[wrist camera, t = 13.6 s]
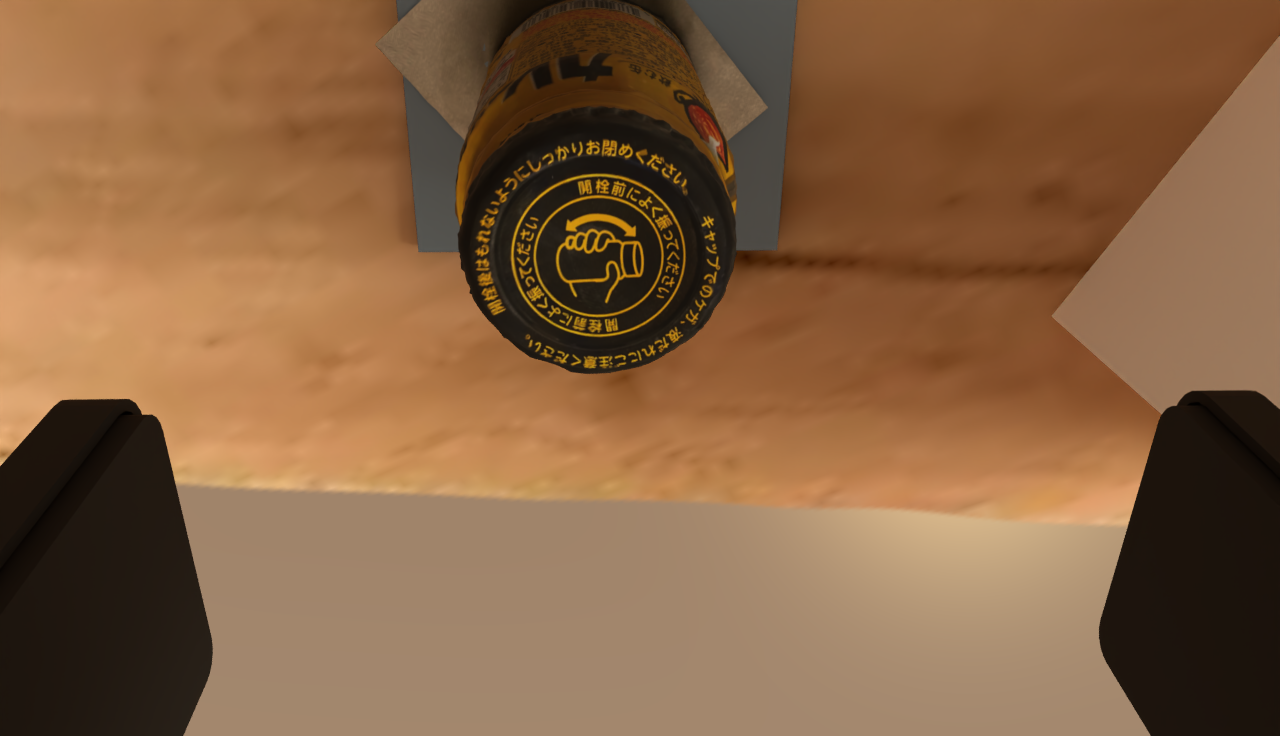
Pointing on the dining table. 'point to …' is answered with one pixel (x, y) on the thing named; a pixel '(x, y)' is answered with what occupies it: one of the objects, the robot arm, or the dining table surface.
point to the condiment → (586, 167)
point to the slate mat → (763, 52)
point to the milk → (1197, 263)
